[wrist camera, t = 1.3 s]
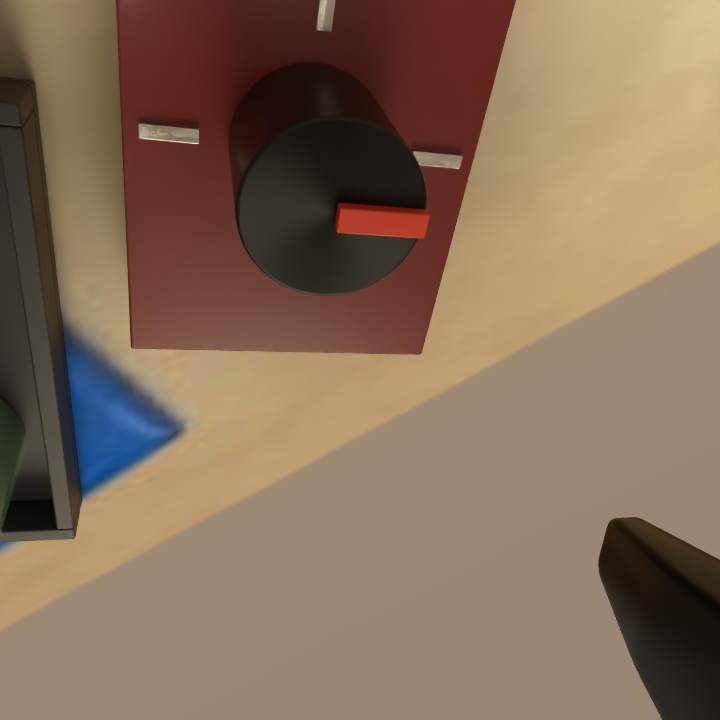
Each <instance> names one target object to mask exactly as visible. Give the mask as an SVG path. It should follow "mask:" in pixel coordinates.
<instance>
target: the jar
mask: <svg viewBox="0 0 720 720" xmlns="http://www.w3.org/2000/svg"><path fill="white" fill-rule="evenodd" d="M26 443H27V439H26V432H25V428H24V425H23V423H22V421H21V419H20V417H19V416H18V414H17V413H16V412H15V411H14V410H13V408H12V407H11V406H10V405H9V404H8V403H6V402H5V401H4V400H3V399H2V398H0V536H1V533H2V529H3V526H4V522H5V519H6V515H7V512H8V508H9V505H10V501H11V498H12V494H13V491H14V487H15V484H16V480H17V477H18V473H19V470H20V466H21V463H22V460H23V456H24V453H25V449H26Z"/></svg>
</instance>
